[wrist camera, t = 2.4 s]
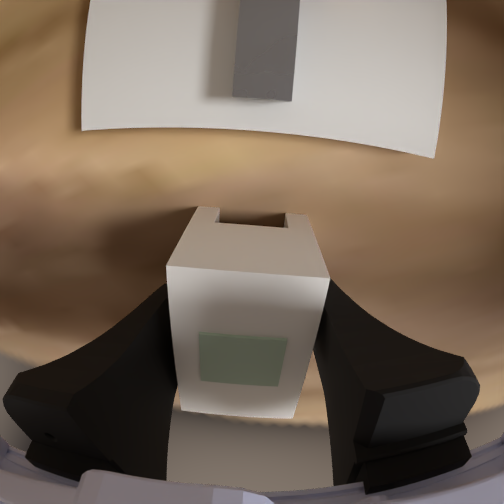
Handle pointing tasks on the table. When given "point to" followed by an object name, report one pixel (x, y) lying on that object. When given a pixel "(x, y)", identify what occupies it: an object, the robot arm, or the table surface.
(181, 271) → the block
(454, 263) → the table surface
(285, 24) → the din rail
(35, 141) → the table surface
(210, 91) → the rail board
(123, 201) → the table surface
